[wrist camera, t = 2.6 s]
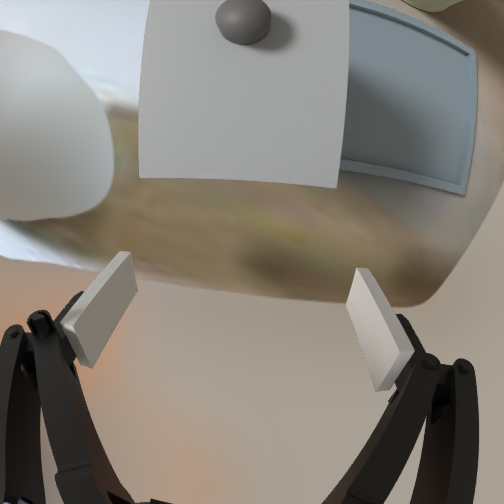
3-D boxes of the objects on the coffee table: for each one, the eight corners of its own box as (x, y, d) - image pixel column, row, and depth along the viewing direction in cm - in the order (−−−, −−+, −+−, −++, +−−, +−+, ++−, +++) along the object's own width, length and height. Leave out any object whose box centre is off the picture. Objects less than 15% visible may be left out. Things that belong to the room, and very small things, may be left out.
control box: (212, 31, 15) (135, -82, 2) (307, 36, 15) (380, -76, 2) (205, 152, 19) (101, 221, 6) (298, 158, 19) (372, 238, 6)
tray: (324, -4, 13) (327, -9, 12) (468, 51, 13) (475, 50, 12) (313, 164, 19) (317, 166, 18) (457, 191, 19) (464, 195, 18)
